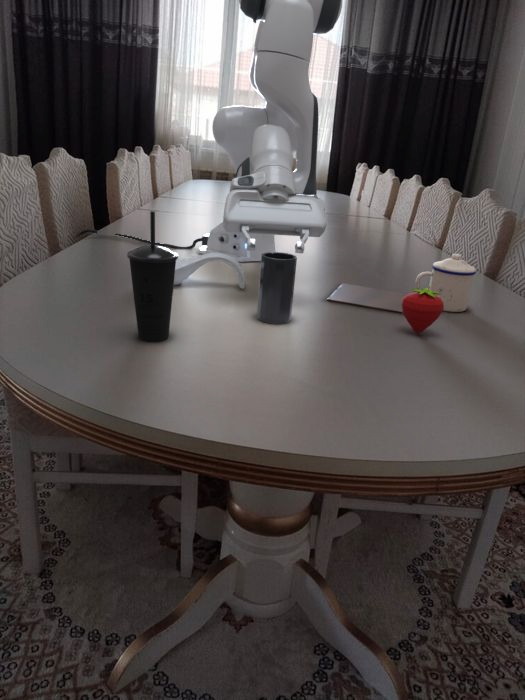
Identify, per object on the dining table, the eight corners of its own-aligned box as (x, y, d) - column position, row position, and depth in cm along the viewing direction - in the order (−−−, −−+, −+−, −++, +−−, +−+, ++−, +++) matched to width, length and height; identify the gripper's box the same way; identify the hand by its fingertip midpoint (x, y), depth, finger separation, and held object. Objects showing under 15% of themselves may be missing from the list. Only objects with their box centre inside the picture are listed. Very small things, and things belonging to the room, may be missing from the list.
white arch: (134, 287, 111) (133, 253, 108) (145, 274, 122) (144, 243, 119) (244, 294, 112) (246, 261, 109) (245, 280, 123) (247, 250, 120)
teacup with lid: (461, 302, 119) (473, 252, 115) (472, 314, 110) (484, 260, 106) (408, 297, 120) (418, 247, 116) (415, 309, 111) (425, 255, 107)
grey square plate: (326, 300, 112) (327, 298, 112) (342, 284, 126) (342, 283, 126) (401, 313, 108) (402, 311, 107) (409, 295, 122) (409, 293, 122)
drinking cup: (132, 327, 88) (130, 206, 81) (178, 329, 89) (180, 210, 81) (125, 344, 81) (122, 213, 73) (175, 346, 82) (176, 216, 74)
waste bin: (251, 320, 96) (256, 256, 92) (263, 311, 102) (268, 250, 98) (284, 326, 95) (290, 261, 90) (294, 316, 100) (301, 255, 96)
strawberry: (394, 325, 100) (404, 274, 96) (434, 329, 99) (445, 279, 95) (398, 335, 94) (408, 282, 91) (440, 340, 94) (452, 286, 90)
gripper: (320, 205, 108) (324, 262, 103) (222, 199, 106) (221, 256, 100) (327, 185, 103) (332, 243, 97) (224, 178, 100) (223, 237, 95)
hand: (275, 250), depth 99 cm, fingers open, 8 cm apart
